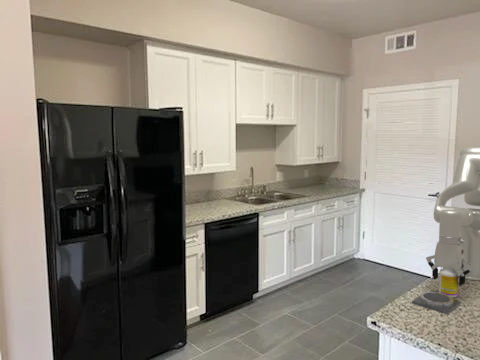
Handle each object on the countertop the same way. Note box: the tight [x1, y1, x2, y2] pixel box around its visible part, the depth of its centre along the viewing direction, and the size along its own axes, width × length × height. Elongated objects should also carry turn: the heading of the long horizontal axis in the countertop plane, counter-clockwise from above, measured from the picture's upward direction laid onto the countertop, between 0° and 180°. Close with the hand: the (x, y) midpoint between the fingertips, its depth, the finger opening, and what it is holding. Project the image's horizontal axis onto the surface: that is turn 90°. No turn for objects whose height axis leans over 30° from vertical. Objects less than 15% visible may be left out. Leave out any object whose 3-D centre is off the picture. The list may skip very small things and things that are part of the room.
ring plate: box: [411, 291, 462, 315], centre depth 141 cm, size 13×13×2 cm
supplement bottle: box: [438, 267, 459, 299], centre depth 149 cm, size 7×7×13 cm
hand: (448, 281), depth 148 cm, fingers open, 9 cm apart
